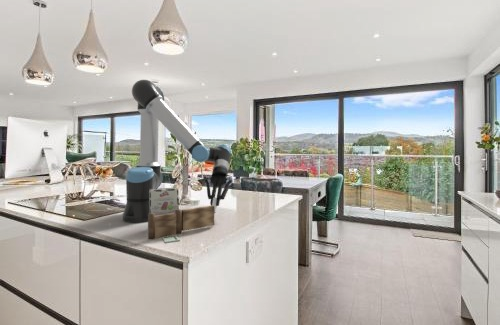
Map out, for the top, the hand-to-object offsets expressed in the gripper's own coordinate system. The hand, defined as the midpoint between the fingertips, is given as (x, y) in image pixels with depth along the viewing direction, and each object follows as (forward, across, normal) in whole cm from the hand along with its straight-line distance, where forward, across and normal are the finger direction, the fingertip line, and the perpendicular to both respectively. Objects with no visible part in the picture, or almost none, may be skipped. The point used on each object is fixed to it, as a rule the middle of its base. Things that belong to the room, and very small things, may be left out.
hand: (213, 211), depth 123 cm
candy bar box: (+11, +18, +4) cm, 22 cm away
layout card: (+20, +10, +13) cm, 26 cm away
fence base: (+18, +14, +11) cm, 25 cm away
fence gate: (+10, +4, +4) cm, 12 cm away
